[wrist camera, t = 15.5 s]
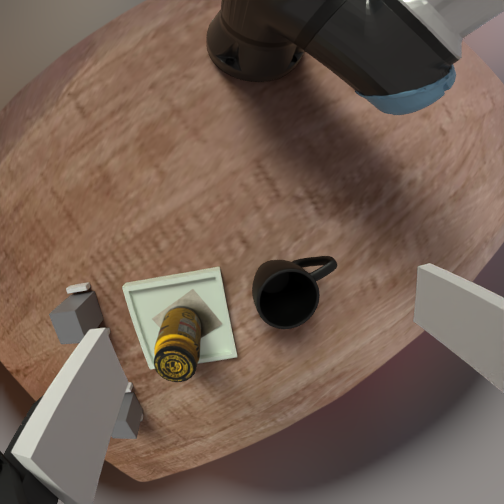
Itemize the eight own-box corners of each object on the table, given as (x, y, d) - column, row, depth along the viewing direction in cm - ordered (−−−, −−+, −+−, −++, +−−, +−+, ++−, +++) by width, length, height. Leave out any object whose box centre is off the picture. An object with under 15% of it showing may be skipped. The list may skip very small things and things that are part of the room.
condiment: (152, 318, 41) (135, 360, 30) (193, 288, 41) (187, 324, 30) (181, 350, 43) (175, 397, 32) (222, 322, 43) (228, 367, 32)
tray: (125, 282, 41) (122, 287, 39) (219, 266, 42) (220, 270, 40) (151, 362, 44) (149, 369, 42) (236, 350, 46) (237, 356, 44)
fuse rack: (65, 286, 39) (42, 304, 31) (94, 281, 40) (73, 299, 32) (122, 416, 46) (114, 443, 38) (147, 415, 47) (142, 443, 39)
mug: (326, 270, 45) (352, 290, 36) (263, 311, 45) (276, 340, 36) (303, 228, 43) (327, 238, 34) (236, 270, 43) (243, 292, 33)
